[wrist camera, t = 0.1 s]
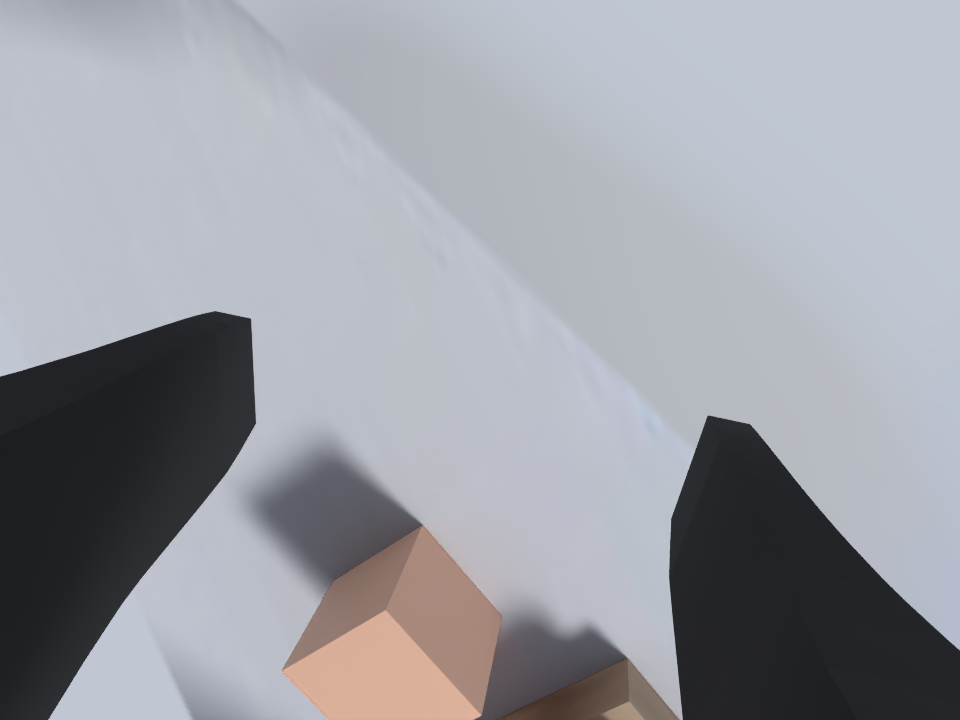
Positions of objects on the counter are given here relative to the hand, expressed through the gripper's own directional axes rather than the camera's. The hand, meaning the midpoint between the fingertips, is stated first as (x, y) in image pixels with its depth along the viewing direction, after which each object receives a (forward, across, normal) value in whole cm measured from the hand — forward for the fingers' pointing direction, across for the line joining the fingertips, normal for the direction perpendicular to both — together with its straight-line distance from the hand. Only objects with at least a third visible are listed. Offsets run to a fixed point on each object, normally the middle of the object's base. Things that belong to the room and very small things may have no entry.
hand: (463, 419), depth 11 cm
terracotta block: (+8, +2, +14) cm, 17 cm away
